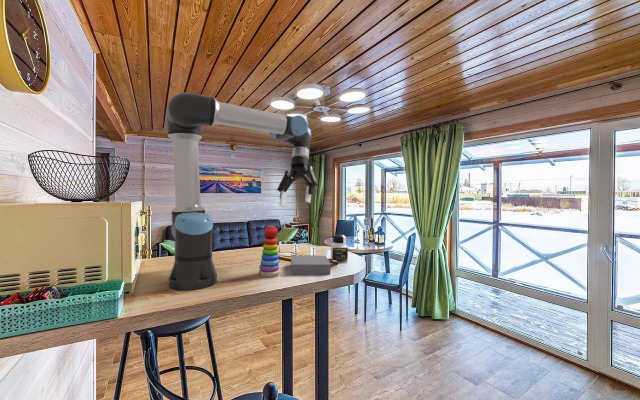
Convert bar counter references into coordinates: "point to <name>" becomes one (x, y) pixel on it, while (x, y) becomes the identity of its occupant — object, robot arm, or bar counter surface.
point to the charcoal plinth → (310, 265)
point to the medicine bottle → (339, 249)
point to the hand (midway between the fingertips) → (294, 204)
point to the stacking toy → (270, 254)
